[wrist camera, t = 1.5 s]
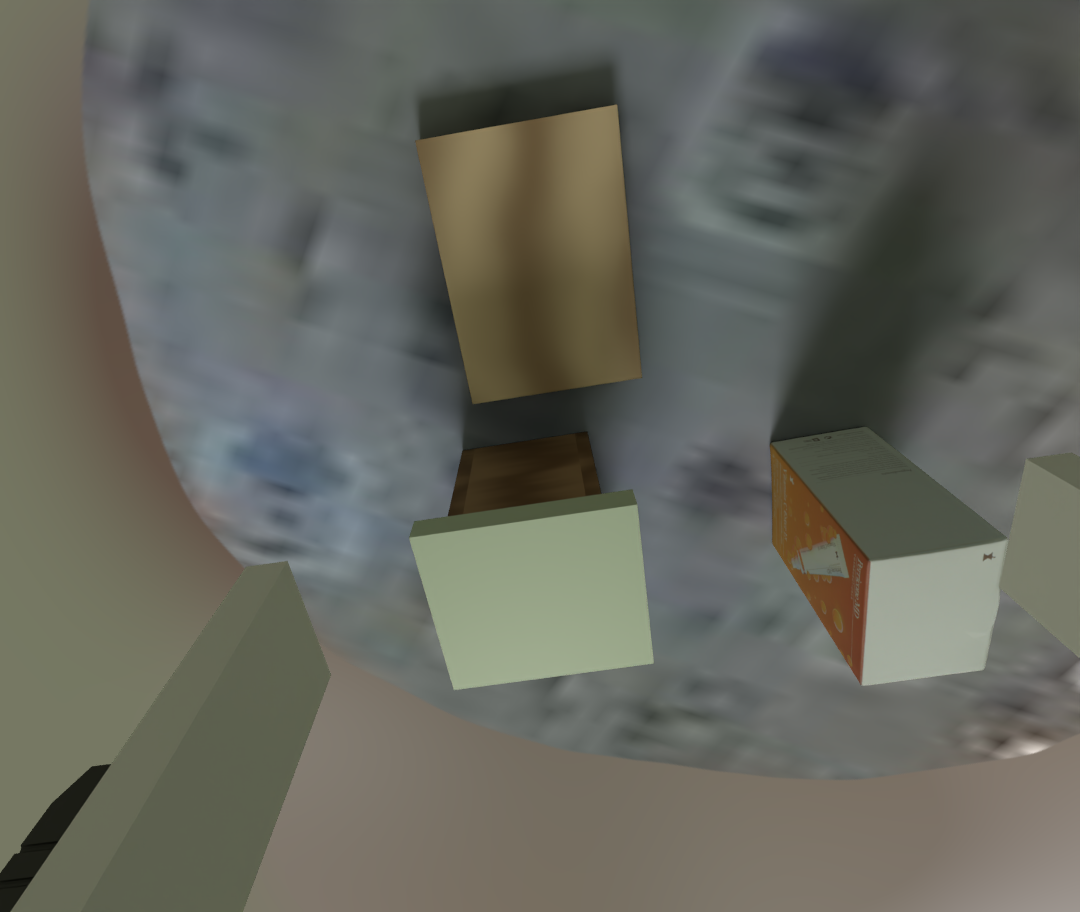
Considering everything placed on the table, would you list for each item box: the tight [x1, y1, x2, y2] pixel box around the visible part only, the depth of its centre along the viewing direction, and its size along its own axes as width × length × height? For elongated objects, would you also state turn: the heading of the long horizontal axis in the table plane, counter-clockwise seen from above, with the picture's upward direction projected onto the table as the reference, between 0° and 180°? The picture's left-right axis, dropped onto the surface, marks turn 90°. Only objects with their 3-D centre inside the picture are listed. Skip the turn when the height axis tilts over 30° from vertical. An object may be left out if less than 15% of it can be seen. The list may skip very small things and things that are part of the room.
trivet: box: [415, 105, 642, 404], centre depth 34 cm, size 10×14×2 cm
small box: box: [770, 427, 1008, 686], centre depth 35 cm, size 8×6×13 cm
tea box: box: [448, 432, 601, 516], centre depth 37 cm, size 8×9×9 cm
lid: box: [409, 490, 654, 690], centre depth 33 cm, size 11×10×3 cm
